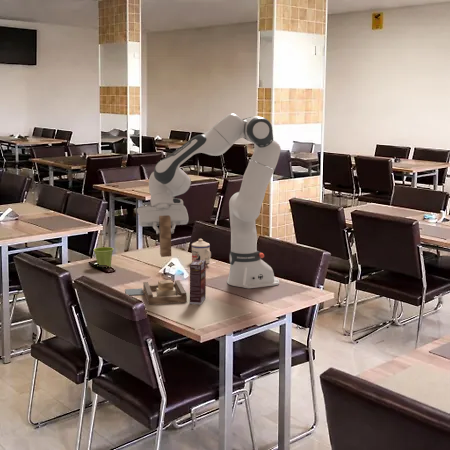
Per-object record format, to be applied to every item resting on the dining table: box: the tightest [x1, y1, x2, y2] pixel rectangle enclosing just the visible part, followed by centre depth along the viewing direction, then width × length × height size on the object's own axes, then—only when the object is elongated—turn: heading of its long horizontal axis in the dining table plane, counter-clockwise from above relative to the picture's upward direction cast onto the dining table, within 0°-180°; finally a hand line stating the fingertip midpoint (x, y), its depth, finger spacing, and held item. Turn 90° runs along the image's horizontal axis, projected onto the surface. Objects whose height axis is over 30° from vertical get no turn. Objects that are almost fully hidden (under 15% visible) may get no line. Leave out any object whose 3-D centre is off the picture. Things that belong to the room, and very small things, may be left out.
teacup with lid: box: [191, 238, 212, 265], centre depth 320 cm, size 12×9×12 cm
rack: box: [142, 279, 188, 305], centre depth 268 cm, size 15×20×4 cm
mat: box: [124, 287, 145, 296], centre depth 272 cm, size 7×8×1 cm
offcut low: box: [156, 288, 177, 296], centre depth 264 cm, size 7×5×4 cm
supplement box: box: [189, 260, 207, 305], centre depth 259 cm, size 9×5×16 cm, turn 168°
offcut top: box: [157, 279, 174, 291], centre depth 264 cm, size 5×4×3 cm
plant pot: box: [93, 246, 114, 268], centre depth 312 cm, size 9×9×9 cm
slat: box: [158, 215, 172, 258], centre depth 267 cm, size 4×4×16 cm
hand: (165, 232), depth 266 cm, fingers closed on slat, 4 cm apart
